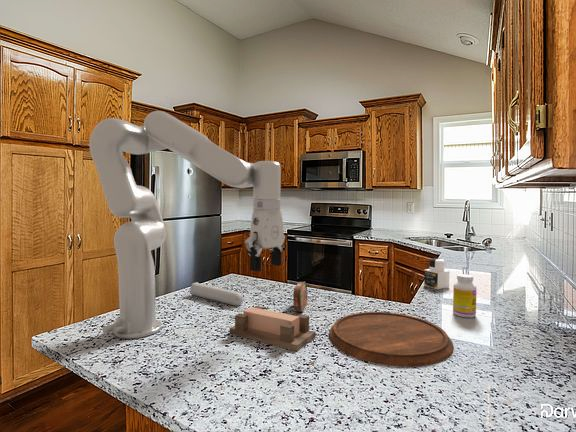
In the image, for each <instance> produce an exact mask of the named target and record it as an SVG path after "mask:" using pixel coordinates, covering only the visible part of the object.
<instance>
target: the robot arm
mask: <svg viewBox="0 0 576 432" xmlns="http://www.w3.org/2000/svg"><path fill="white" fill-rule="evenodd" d="M166 149H168V150H169V151H170V152H173V153H174V154H176V155H178V156H179V157H181V158H183V159H184V160H186V161H187V162H188V163H190V164H191V165H194V166H195V167H197V168H199V169H200V170H201V171H203V172H205V173H207V174H208V175H210V176H211V177H213V178H215V179H216V180H218V181H219V182H221V183H223V184H225V185H226V186H229V187H232V188H237V189H247V188H248V189H249V188H253V190H252V194H253V196H252V198H253V199H252V201H253V202H252V214H251V223H250V235H249V236H248V238H247V239H245V240H244V244H245V246H246V251H247V252H248V257H250V259H249V264H250V265H249V270H250V271H253V272H258V273H259V272H261V271H262V256H261V253H262V251H263V249H266V250H267V249H272V250H271V251H270V256H271V257H270V258H271V259H270V260H271V261H270V263H271V265H272V266H278V267H279V266H282V252H283V248H284V245H285V240H286V235H285V234H284V221H283V220H284V219H283V216H282V215H283V214H282V211H281V187H282V186H281V183H282V181H281V180H282V179H281V175H282V174H281V173H282V171H281V170H282V168H281V167H282V166H281V164H280V163H279V162H278V161H273V160H260V161H255V162H254V163H253V162H247V161H244V160H243V159H240V158H239V157H237V156H236V155H234V154H232V153H230V152H229V151H228V150H225V149H224V148H222V147H220V146H219V145H217V144H216V143H214V142H213V141H212V140H211V139H209V138H208V136H207V135H205V134H203V133H202V132H200V131H198V130H196V129H195V128H193V127H191V126H189V125H188V124H186V123H185V122H183V121H182V120H179V119H178V118H177V117H175V116H173V115H171V114H170V113H169V112H168V113H167V112H166V111H162V110H154V111H151V112H150V113H148V115H146V117H145V118H144V120H143V125H140V126H139V125H136V124H133V123H131V122H129V121H127V120H124V119H121V118H117V117H115V118H114V117H108V118H105V119H103V120H101V121H100V122H98V123H97V124H96V125H95V126H94V128H93V129H92V132H91V134H90V138H89V153H90V155H91V159H92V161H93V163H94V167H95V168H96V171H97V174H98V177H99V182H100V185H101V189H102V191H103V194H104V197H105V201H106V204H107V206H108V210H109V211H110V212H111V214H112V215H114V216H115V217H118V218H125V219H126V218H130V220H131V221H127V222H125V223H123V224H122V225H120V226H119V227H118V228H117V229H116V231H115V233H114V236H113V245H114V251H115V254H116V260H117V269H118V270H117V273H118V275H117V276H118V296H119V297H118V298H119V300H118V301H119V317H116V318H115V321H114V322H113V323H112V324H108V325H105V326H104V325H103V326H102V329H101V330H102V333H103V334H104V335H105V334H109V333H111V332H112V333H113V334H114V336H115V337H117V338H120V339H138V338H144V337H148V336H151V335H154V334H156V333H157V332H159V331H160V330H161V329H162V326H163V325H162V322H161V321H160V320H158V319H157V314H156V313H157V312H156V311H157V309H156V305H157V304H156V275H155V272H156V270H155V261H154V258H153V255H152V251H153V250H156V249H159V248H160V247H162V245H163V244H164V243H165V240H166V239H167V238H166V237H167V230H166V225H165V222H164V219H163V217H162V213H161V210H160V207H159V204H158V201H157V198H156V197H155V194H154V193H153V192H152V191H151V190H150V188H147V187H146V186H143V185H137V183H136V181H135V178H134V175H133V172H132V168H131V166H130V164H129V162H128V161H127V159H126V158H125V156H124V153H128V154H130V155H145V154H146V155H147V154H150V153H154V152H155V153H156V152H159V151H162V150H163V151H164V150H166ZM123 152H124V153H123Z"/></svg>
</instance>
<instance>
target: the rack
mask: <svg viewBox="0 0 576 432" xmlns="http://www.w3.org/2000/svg"><path fill="white" fill-rule="evenodd" d="M253 307H254V308H259V309H264V310H266V308H265V307H264V306H260V305H255V306H253ZM297 316H298V317H299V334H297V335H296V336H294V325H290V324H286V323H284V324H282V325H280V335H276V334H272V333H268V332H264V331H260V330H256V329H252V328H248V315H245V314H244V313H240V312H239V313H237V314H235V315H234V325H233V326H231V327H229V334H231V335H234V336H239V337H242V338H244V339H245V338H246V339H249V340H254V341H257V342H261V343H265V344H269V345H272V346H276V347H280V348H284V349H287V350H290V351H291V350H292V351H294V352H298V351H299V350H301V349H302V348H304V347H305V346H306V345H307V344H309V343H310V342H311V341H313V340H314V339H315V338H316V337H317V336H316V331H314V330H310V315H304V314H301V313H300V314H298V315H297Z"/></svg>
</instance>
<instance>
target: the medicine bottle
mask: <svg viewBox="0 0 576 432" xmlns="http://www.w3.org/2000/svg"><path fill="white" fill-rule="evenodd" d="M428 261H429V262H428V263H429V265H428V266H429V267H428V268H427V269H424V271H423V273H424V279H423V280H424V281H423V283H424V287H428V288H431V289H435V290H442V289H448V288H450V270H446V269H445V268H446V267H445V265H446V263H445V262H446V261H445V259H443V258H438V257H436V258H435V257H433V258H430V259H429V260H428Z"/></svg>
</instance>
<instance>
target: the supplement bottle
mask: <svg viewBox="0 0 576 432" xmlns="http://www.w3.org/2000/svg"><path fill="white" fill-rule="evenodd" d="M456 279H457V281H456V282H455V283H453V287H452V288H453V291H452V292H453V293H452V294H453V295H452V296H453V297H452V300H453V301H452V312H453V314H454V315H455V316H457V317H460V318H466V319H467V318H469V319H471V318H474V317H476V315H477V286H476V284H474V283H473V281H474V276H473V275H471V274H465V273H464V274H463V273H458V274H457V276H456Z"/></svg>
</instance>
